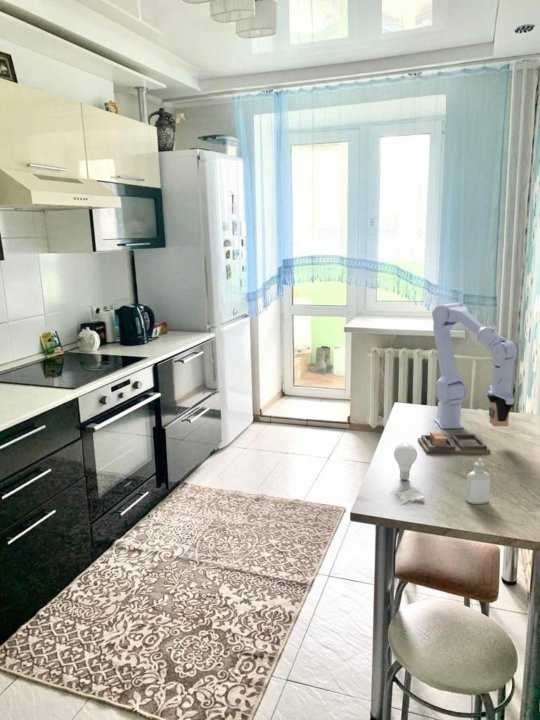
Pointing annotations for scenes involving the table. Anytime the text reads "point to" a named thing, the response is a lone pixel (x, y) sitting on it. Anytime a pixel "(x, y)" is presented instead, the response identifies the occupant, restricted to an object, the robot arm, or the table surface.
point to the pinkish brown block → (496, 416)
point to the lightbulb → (405, 458)
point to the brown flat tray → (452, 444)
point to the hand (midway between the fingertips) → (499, 418)
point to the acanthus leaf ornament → (410, 495)
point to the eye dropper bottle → (478, 484)
